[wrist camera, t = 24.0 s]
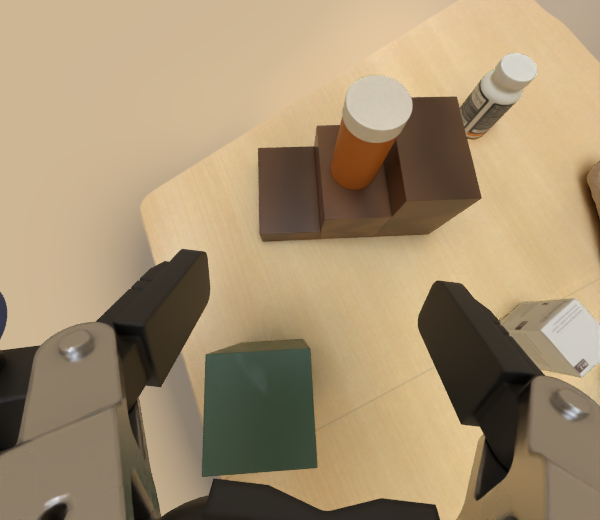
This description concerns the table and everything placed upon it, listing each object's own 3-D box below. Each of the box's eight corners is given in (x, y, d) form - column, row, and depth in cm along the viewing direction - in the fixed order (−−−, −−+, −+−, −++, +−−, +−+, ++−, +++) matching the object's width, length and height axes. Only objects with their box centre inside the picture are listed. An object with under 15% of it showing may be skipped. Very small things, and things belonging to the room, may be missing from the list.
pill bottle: (490, 119, 43) (547, 59, 33) (479, 145, 42) (536, 91, 32) (457, 105, 44) (504, 42, 34) (446, 130, 42) (492, 73, 33)
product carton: (519, 301, 36) (576, 295, 29) (553, 339, 35) (621, 343, 27) (489, 329, 35) (540, 329, 28) (523, 368, 34) (585, 379, 26)
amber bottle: (331, 191, 31) (349, 131, 22) (327, 149, 33) (342, 75, 23) (379, 189, 31) (418, 129, 22) (373, 148, 33) (407, 74, 23)
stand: (240, 412, 31) (201, 477, 18) (240, 342, 33) (205, 354, 20) (306, 407, 32) (317, 468, 18) (303, 339, 34) (310, 348, 20)
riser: (262, 241, 37) (249, 207, 26) (260, 160, 40) (248, 100, 29) (428, 234, 38) (482, 198, 27) (414, 156, 41) (457, 96, 30)
